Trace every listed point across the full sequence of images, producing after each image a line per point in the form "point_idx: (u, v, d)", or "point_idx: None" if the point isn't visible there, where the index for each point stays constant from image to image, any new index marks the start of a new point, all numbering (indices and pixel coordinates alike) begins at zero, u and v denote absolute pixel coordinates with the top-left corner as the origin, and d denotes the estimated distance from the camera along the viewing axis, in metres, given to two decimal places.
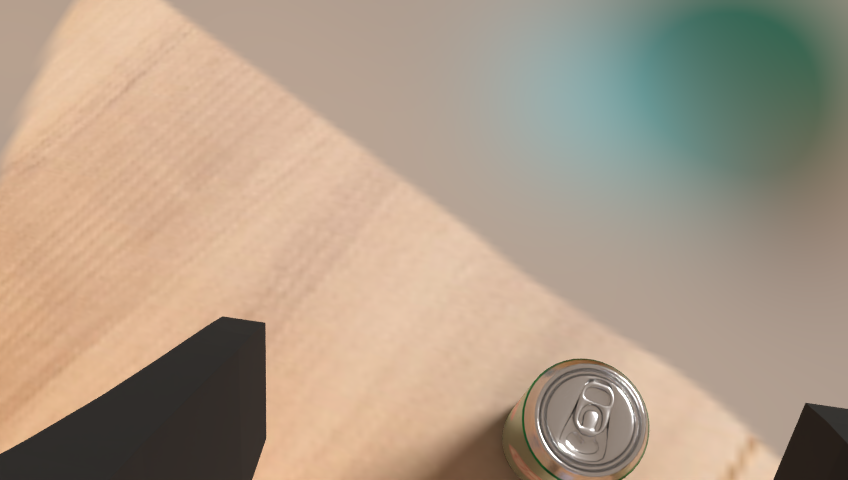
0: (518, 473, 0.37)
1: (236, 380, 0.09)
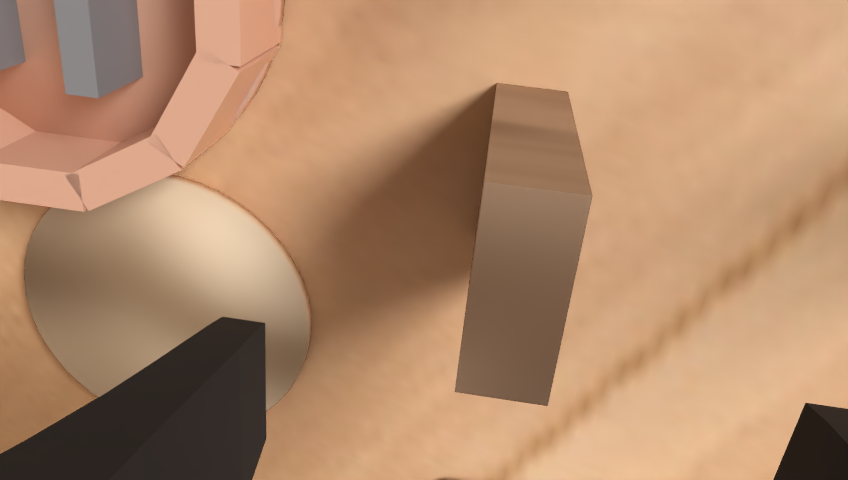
0: None
1: (236, 380, 0.09)
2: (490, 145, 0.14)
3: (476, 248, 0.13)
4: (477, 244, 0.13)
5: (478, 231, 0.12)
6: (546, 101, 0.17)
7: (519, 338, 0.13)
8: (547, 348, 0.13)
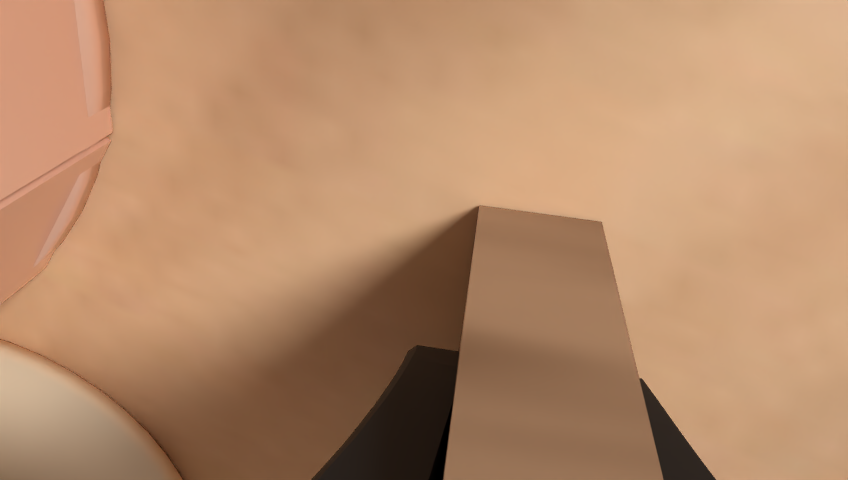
0: None
1: None
2: (452, 439, 0.06)
3: None
4: None
5: None
6: (566, 254, 0.10)
7: None
8: None
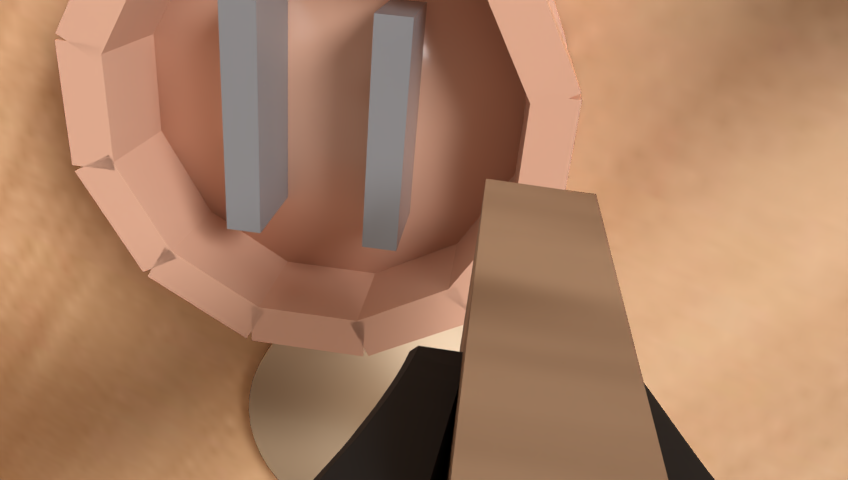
0: None
1: (454, 414, 0.09)
2: (468, 355, 0.07)
3: None
4: None
5: None
6: (564, 219, 0.11)
7: None
8: None
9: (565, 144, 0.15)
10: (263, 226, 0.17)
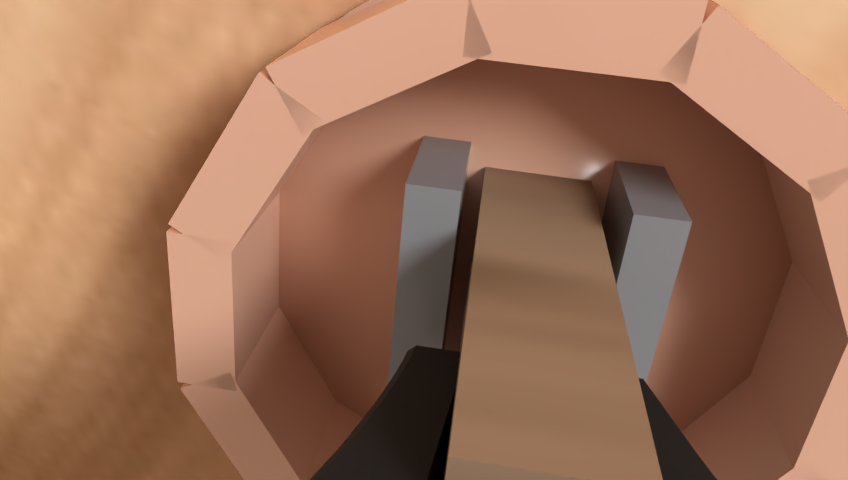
0: None
1: None
2: (467, 329, 0.08)
3: None
4: None
5: None
6: (560, 204, 0.11)
7: None
8: None
9: None
10: None
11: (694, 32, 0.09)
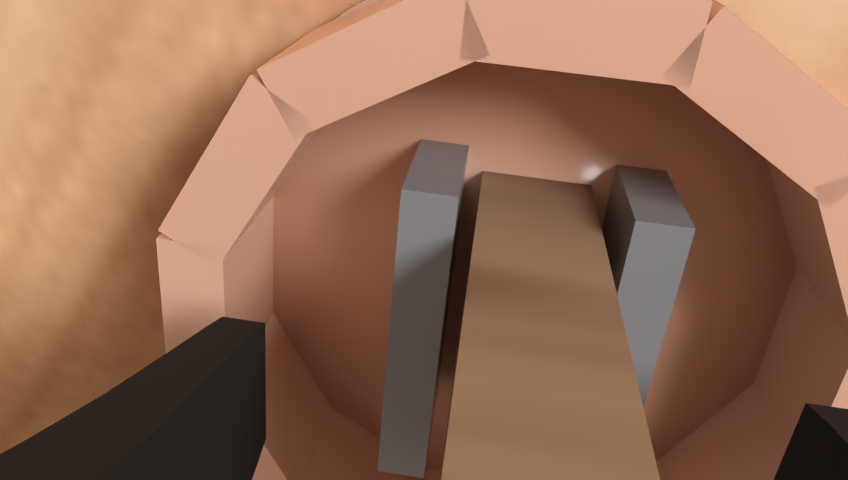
0: None
1: (236, 380, 0.09)
2: (462, 342, 0.08)
3: None
4: None
5: None
6: (560, 210, 0.11)
7: None
8: None
9: None
10: (425, 464, 0.12)
11: (698, 34, 0.08)
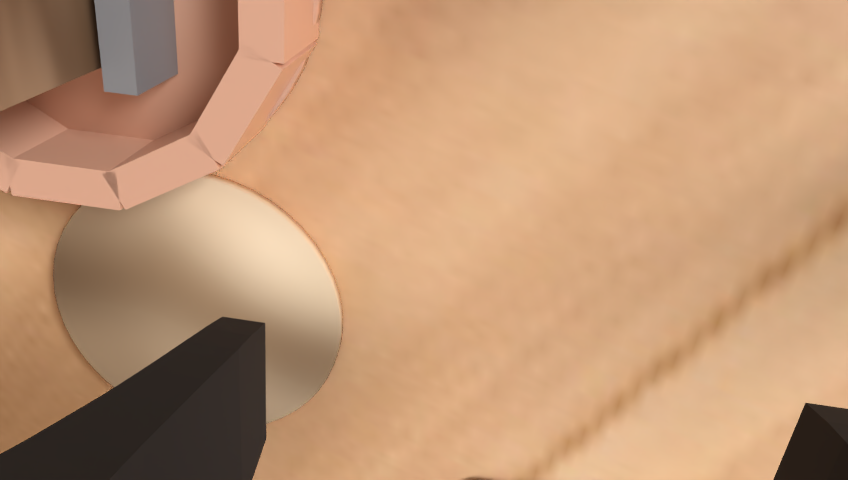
0: None
1: (236, 380, 0.09)
2: None
3: None
4: None
5: None
6: None
7: None
8: None
9: None
10: None
11: None
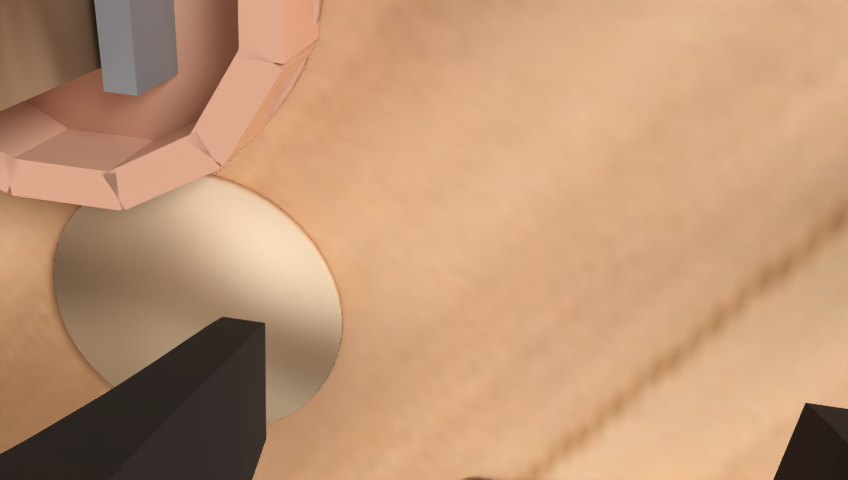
0: None
1: (236, 380, 0.09)
2: None
3: None
4: None
5: None
6: None
7: None
8: None
9: None
10: None
11: None
